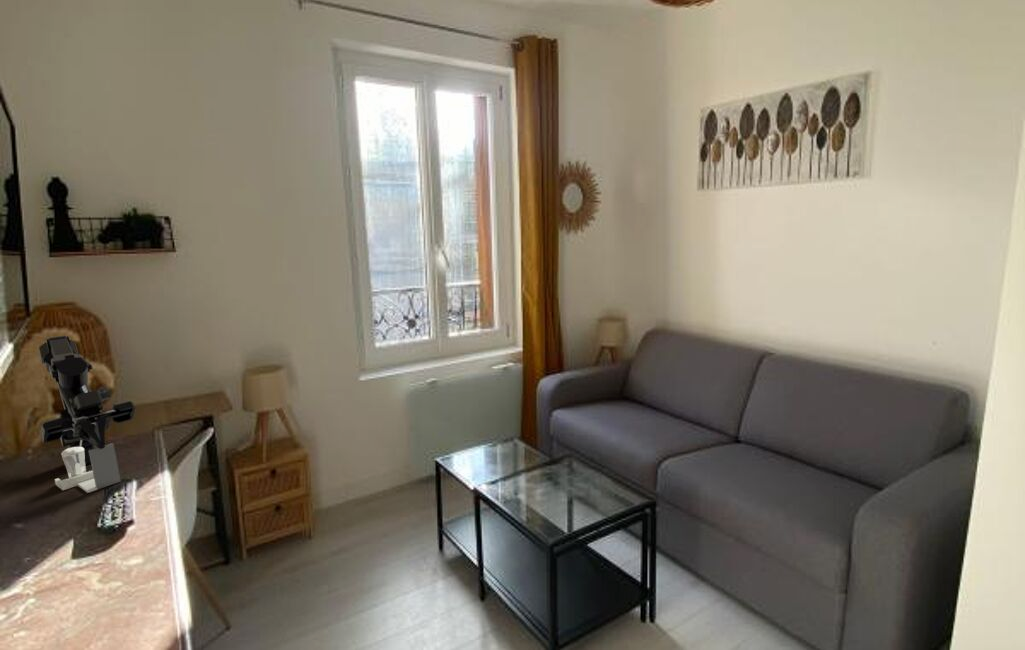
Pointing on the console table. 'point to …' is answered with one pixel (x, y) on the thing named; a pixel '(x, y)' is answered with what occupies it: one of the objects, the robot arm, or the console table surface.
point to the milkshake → (74, 460)
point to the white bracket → (95, 471)
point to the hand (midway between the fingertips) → (102, 447)
